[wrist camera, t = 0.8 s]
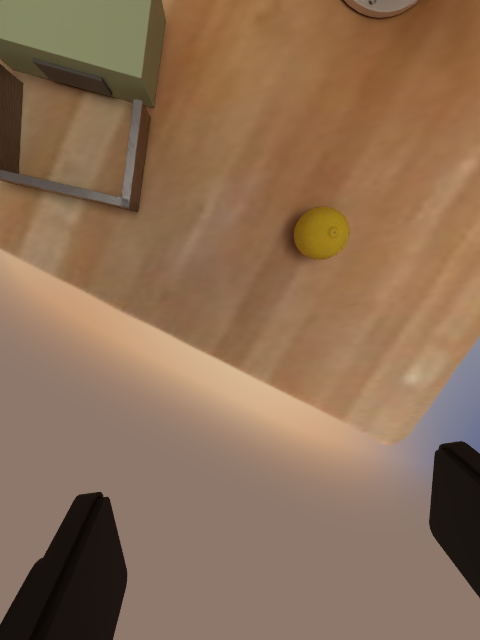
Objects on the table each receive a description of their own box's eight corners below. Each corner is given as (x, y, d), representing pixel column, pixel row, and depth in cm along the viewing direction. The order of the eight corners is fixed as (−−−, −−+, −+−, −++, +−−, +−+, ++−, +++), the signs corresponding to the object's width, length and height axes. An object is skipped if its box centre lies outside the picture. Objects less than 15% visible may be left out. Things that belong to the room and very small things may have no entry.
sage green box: (17, -26, 29) (-32, -94, 23) (165, 20, 31) (154, -31, 25) (12, 73, 31) (-34, 32, 25) (153, 111, 33) (140, 82, 27)
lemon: (286, 258, 38) (305, 262, 30) (287, 211, 36) (307, 202, 29) (330, 257, 38) (360, 260, 30) (332, 210, 37) (364, 201, 29)
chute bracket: (14, 81, 31) (-14, 58, 27) (150, 117, 33) (142, 100, 29) (9, 182, 33) (-17, 174, 29) (138, 211, 35) (128, 207, 31)
